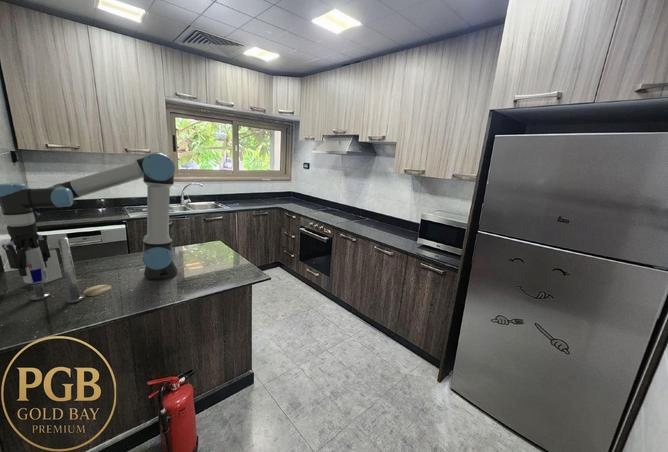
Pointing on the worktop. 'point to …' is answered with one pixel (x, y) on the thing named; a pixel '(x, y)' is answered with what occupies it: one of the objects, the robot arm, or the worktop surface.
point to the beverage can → (36, 266)
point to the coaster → (97, 290)
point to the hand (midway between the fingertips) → (36, 279)
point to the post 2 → (69, 271)
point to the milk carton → (53, 266)
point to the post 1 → (40, 293)
